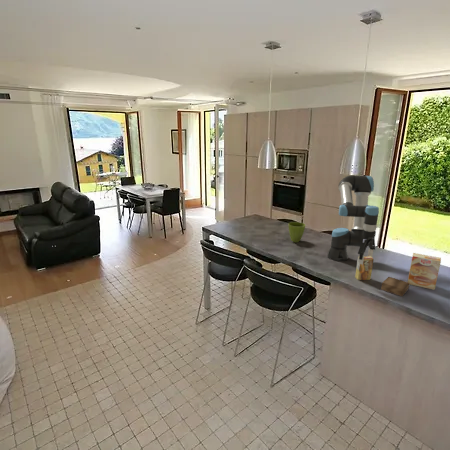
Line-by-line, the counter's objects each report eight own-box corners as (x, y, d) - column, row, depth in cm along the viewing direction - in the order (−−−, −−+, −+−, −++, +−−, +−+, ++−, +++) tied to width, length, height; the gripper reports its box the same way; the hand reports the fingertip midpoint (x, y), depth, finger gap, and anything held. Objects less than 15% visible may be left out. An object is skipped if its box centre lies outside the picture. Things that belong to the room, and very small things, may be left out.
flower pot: (302, 238, 282) (304, 222, 278) (305, 244, 268) (306, 226, 263) (286, 238, 284) (287, 221, 279) (288, 243, 269) (289, 226, 265)
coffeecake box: (407, 284, 196) (412, 255, 190) (407, 279, 201) (412, 252, 196) (434, 290, 188) (441, 261, 182) (434, 285, 193) (441, 257, 188)
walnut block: (380, 289, 189) (382, 282, 187) (387, 283, 197) (388, 276, 196) (402, 296, 181) (403, 289, 179) (408, 290, 189) (409, 282, 187)
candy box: (367, 277, 205) (370, 256, 201) (370, 279, 201) (373, 258, 197) (354, 277, 205) (357, 256, 200) (357, 280, 201) (360, 258, 196)
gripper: (366, 235, 183) (362, 267, 188) (383, 227, 199) (379, 258, 204) (354, 232, 188) (350, 264, 194) (371, 225, 204) (367, 255, 210)
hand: (365, 261), depth 199 cm, fingers open, 13 cm apart
